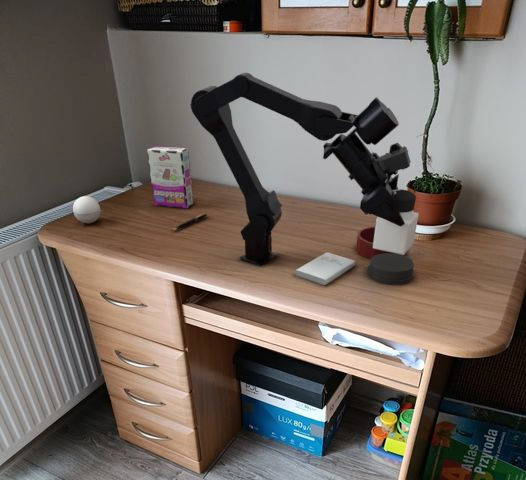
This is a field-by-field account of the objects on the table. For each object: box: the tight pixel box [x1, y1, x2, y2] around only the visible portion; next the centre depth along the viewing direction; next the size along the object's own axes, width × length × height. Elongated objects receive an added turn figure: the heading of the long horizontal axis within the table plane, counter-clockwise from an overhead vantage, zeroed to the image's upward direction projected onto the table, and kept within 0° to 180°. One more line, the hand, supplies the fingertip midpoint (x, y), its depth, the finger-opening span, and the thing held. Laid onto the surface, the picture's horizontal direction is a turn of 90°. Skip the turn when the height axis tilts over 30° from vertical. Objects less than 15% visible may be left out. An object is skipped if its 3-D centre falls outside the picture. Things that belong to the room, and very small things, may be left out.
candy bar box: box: [146, 146, 194, 209], centre depth 152 cm, size 11×5×16 cm, turn 73°
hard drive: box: [294, 251, 356, 286], centre depth 118 cm, size 2×8×12 cm
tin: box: [355, 225, 406, 260], centre depth 126 cm, size 12×12×4 cm
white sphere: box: [72, 195, 102, 224], centre depth 142 cm, size 10×7×7 cm
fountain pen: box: [172, 213, 208, 231], centre depth 143 cm, size 14×1×2 cm, turn 145°
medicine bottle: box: [372, 188, 419, 256], centre depth 110 cm, size 7×7×12 cm
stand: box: [366, 253, 415, 286], centre depth 116 cm, size 10×10×3 cm
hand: (404, 218), depth 109 cm, fingers closed on medicine bottle, 8 cm apart
